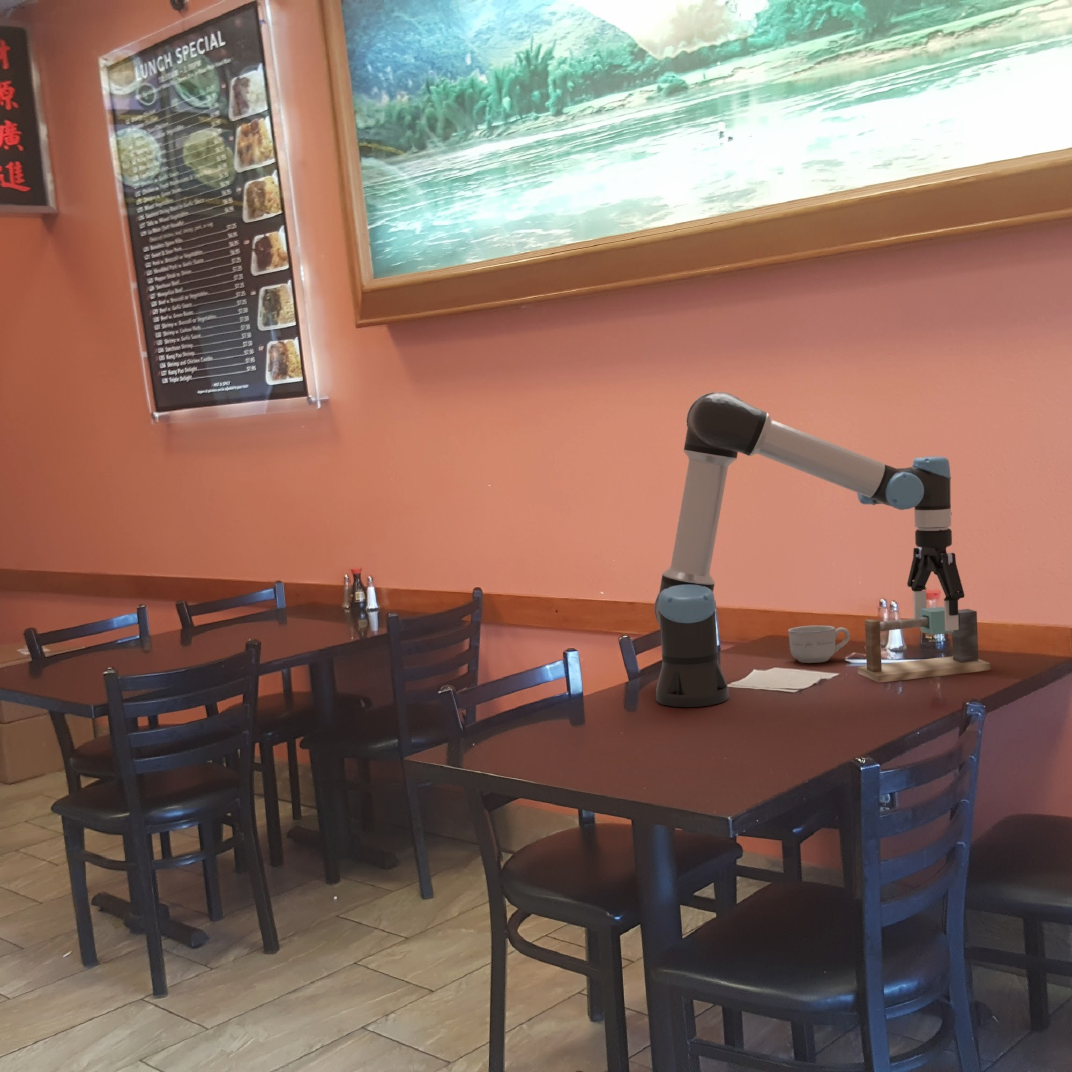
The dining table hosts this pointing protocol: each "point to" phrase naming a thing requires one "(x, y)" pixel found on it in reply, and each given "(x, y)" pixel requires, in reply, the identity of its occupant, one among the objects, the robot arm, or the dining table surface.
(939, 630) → the sleeve
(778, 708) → the dining table surface
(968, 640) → the rod stand
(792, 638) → the teacup
